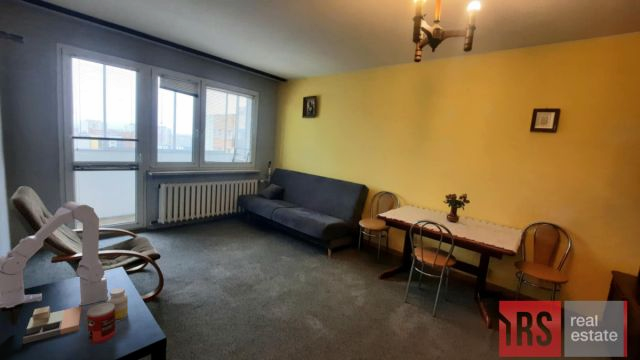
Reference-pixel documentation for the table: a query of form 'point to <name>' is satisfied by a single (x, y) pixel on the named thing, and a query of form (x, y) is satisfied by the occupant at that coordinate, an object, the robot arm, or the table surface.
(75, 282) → the table surface
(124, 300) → the pill bottle
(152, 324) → the table surface
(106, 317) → the canned food
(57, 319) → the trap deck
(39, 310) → the birch block
